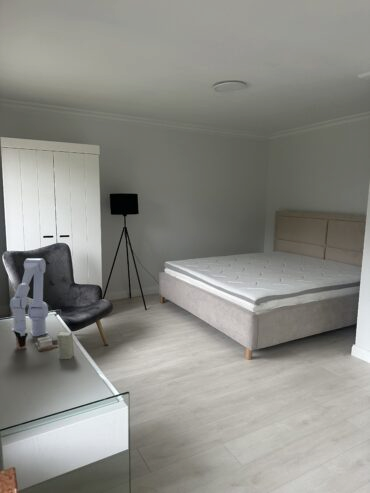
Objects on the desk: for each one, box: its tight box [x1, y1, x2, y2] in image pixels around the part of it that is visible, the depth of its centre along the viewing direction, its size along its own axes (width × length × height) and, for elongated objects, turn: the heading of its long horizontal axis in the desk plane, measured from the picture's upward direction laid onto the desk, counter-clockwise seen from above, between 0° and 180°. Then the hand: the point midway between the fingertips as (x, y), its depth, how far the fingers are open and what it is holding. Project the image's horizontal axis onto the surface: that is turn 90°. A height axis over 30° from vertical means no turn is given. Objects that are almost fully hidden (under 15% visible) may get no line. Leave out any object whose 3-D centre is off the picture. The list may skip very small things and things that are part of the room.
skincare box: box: [56, 331, 75, 360], centre depth 167 cm, size 6×4×12 cm
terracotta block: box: [15, 338, 27, 351], centre depth 179 cm, size 4×4×5 cm
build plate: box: [34, 335, 58, 352], centre depth 181 cm, size 10×11×4 cm
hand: (21, 344), depth 179 cm, fingers open, 5 cm apart
